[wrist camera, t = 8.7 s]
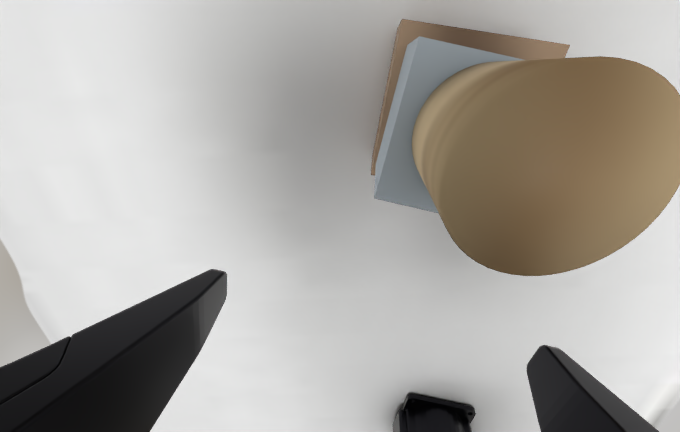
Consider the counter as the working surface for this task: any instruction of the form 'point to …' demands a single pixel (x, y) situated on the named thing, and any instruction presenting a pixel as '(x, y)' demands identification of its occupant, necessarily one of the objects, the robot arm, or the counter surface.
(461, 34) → the walnut base block
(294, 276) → the counter surface
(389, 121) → the blue-grey square block
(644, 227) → the tan wooden cylinder
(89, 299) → the counter surface
